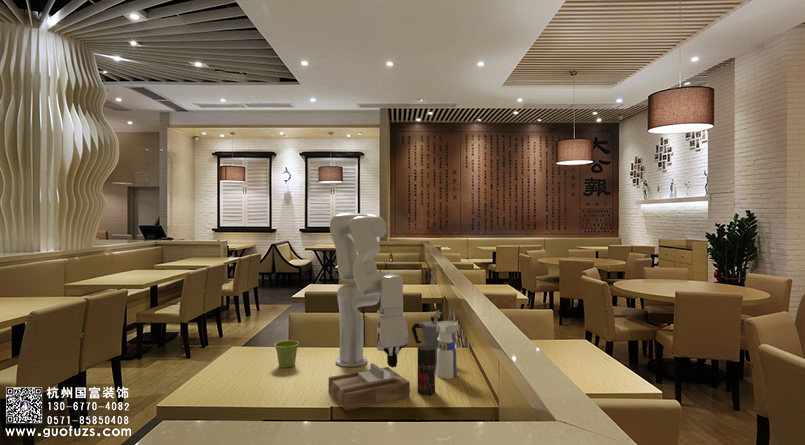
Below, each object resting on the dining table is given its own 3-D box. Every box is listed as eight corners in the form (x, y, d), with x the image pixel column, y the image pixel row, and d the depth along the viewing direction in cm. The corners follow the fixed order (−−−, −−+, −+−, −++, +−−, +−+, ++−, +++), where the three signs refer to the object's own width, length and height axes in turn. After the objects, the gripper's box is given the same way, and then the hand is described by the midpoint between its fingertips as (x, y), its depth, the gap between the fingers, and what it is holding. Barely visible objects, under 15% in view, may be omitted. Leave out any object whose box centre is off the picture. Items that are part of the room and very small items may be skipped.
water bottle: (452, 380, 159) (453, 311, 158) (431, 376, 163) (431, 308, 163) (462, 374, 166) (462, 307, 165) (441, 369, 170) (442, 304, 170)
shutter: (358, 375, 149) (358, 365, 149) (383, 370, 154) (383, 360, 154) (369, 385, 141) (369, 374, 141) (396, 379, 146) (396, 369, 146)
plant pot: (269, 367, 172) (269, 345, 172) (284, 360, 180) (284, 339, 180) (289, 371, 168) (289, 348, 168) (303, 363, 177) (303, 341, 177)
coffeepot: (444, 356, 187) (444, 313, 187) (451, 363, 178) (451, 318, 178) (408, 358, 184) (408, 315, 183) (414, 365, 174) (414, 320, 174)
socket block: (328, 392, 148) (328, 374, 148) (387, 380, 158) (387, 364, 158) (345, 410, 134) (345, 391, 134) (409, 397, 144) (409, 379, 144)
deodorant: (416, 388, 151) (416, 345, 151) (433, 388, 152) (433, 344, 151) (418, 395, 145) (418, 350, 145) (436, 395, 146) (436, 349, 146)
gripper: (376, 316, 143) (376, 373, 143) (416, 311, 150) (417, 365, 150) (367, 312, 150) (367, 366, 149) (406, 307, 157) (406, 359, 156)
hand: (392, 366), depth 150 cm, fingers closed
